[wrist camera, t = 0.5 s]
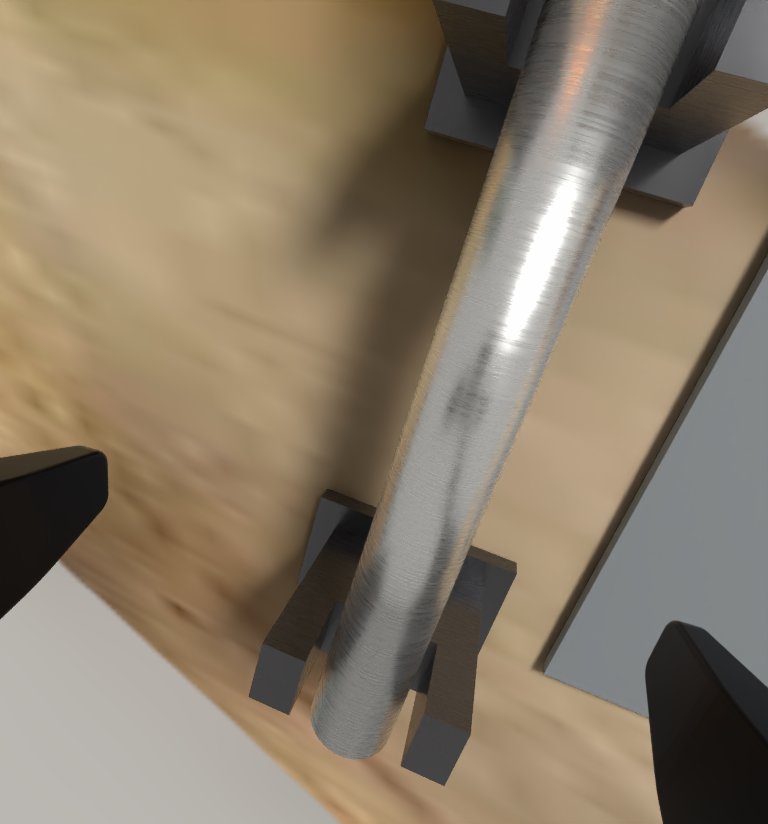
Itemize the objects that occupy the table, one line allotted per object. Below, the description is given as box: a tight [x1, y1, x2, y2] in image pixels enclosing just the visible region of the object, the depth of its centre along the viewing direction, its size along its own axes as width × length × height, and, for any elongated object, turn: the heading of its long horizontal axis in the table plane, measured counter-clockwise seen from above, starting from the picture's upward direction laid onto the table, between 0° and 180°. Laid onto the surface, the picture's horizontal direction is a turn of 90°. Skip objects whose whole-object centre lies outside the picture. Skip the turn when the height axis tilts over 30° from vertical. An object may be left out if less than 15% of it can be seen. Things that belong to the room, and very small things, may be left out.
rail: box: [311, 0, 702, 759], centre depth 14 cm, size 24×3×3 cm, turn 163°
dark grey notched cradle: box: [249, 0, 768, 786], centre depth 17 cm, size 25×9×8 cm, turn 163°
